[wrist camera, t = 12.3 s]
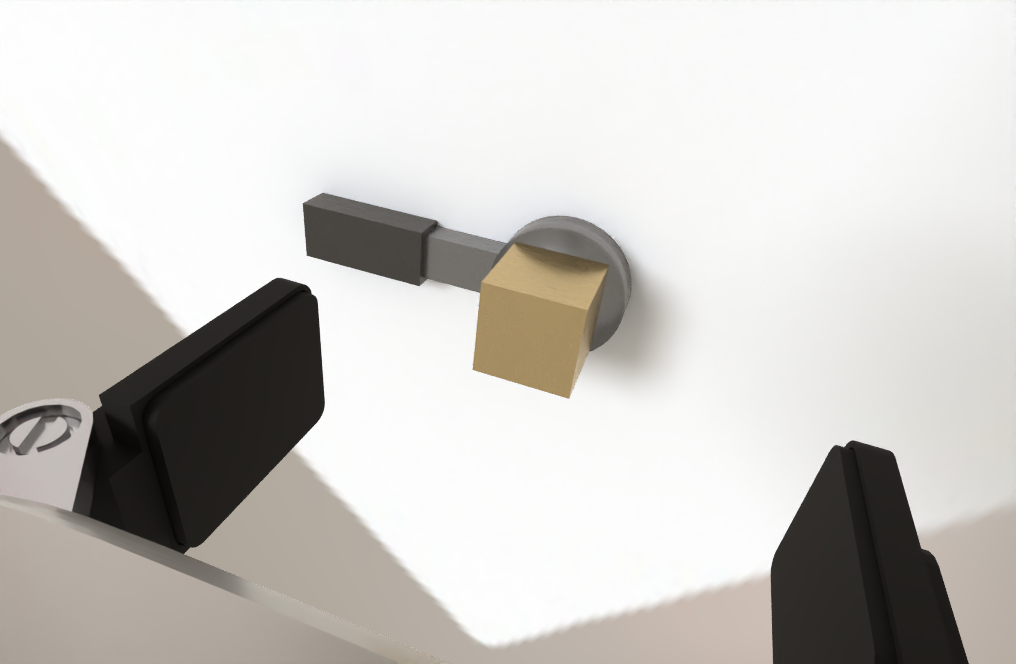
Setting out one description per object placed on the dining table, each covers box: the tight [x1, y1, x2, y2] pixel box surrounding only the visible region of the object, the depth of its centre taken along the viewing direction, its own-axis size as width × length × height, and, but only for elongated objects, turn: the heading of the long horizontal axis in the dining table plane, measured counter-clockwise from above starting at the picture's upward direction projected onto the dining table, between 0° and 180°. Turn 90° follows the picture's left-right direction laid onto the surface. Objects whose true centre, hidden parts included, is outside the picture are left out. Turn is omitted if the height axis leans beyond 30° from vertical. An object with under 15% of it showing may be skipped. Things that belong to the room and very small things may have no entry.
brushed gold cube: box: [473, 242, 609, 399], centre depth 37 cm, size 6×6×6 cm
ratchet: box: [303, 193, 631, 352], centre depth 40 cm, size 9×23×6 cm, turn 83°
